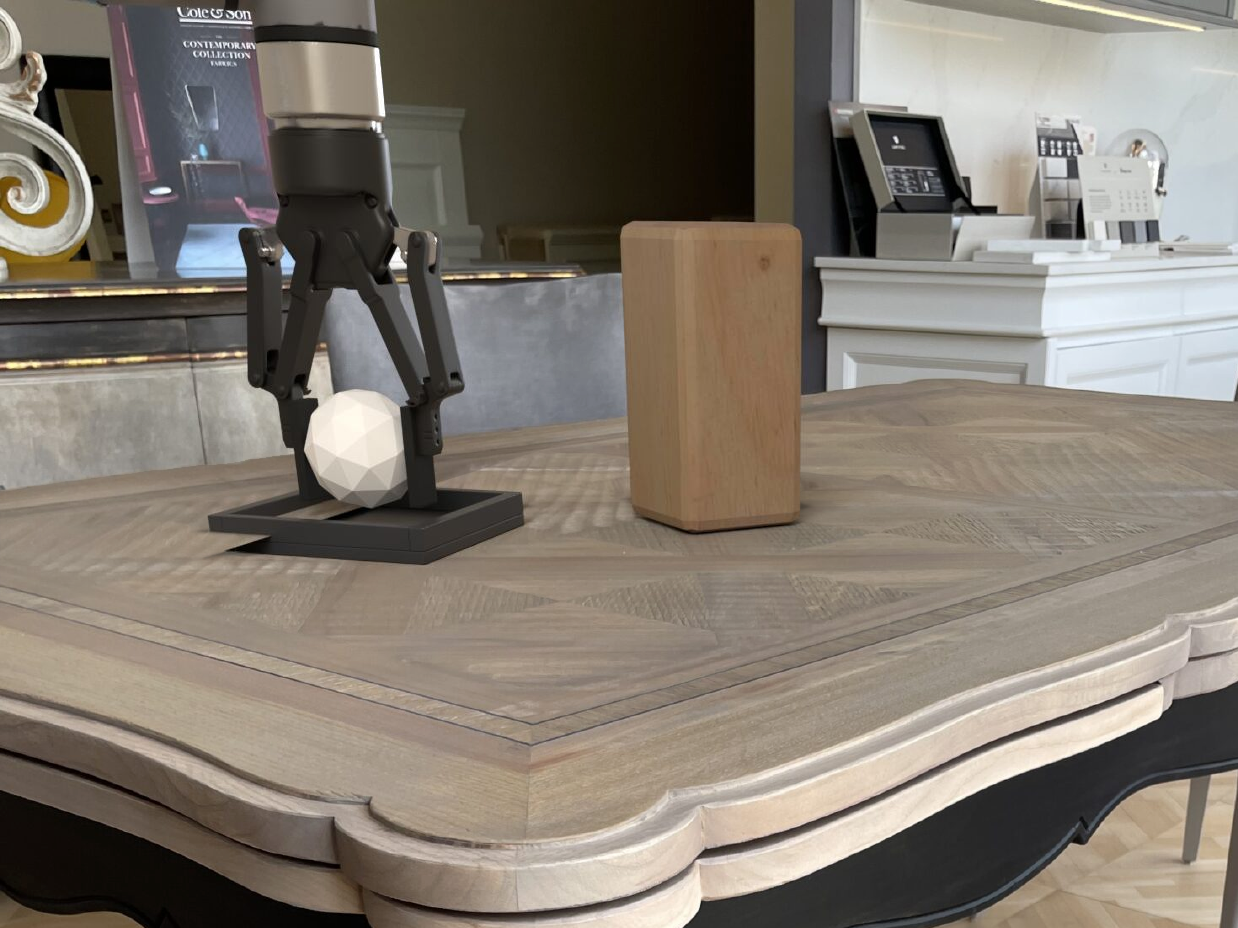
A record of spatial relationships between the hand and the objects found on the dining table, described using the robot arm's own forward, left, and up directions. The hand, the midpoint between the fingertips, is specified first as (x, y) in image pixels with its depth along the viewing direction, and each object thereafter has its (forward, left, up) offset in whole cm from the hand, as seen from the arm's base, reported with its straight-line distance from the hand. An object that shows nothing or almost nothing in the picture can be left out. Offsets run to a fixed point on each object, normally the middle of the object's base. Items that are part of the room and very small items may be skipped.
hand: (369, 501), depth 112 cm
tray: (0, 0, -2) cm, 2 cm away
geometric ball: (0, 0, -1) cm, 1 cm away
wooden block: (+21, +14, -3) cm, 26 cm away
